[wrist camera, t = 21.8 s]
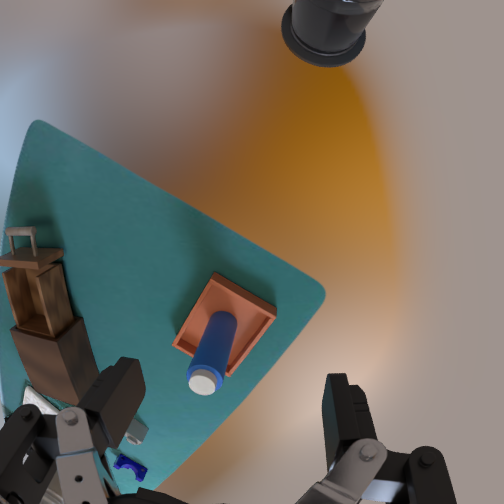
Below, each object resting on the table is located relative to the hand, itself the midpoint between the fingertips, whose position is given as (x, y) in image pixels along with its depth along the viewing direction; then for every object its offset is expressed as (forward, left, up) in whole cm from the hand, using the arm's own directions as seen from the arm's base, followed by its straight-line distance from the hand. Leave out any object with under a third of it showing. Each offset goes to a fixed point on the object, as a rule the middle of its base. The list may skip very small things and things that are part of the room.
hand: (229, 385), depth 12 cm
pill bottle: (+15, -6, -30) cm, 33 cm away
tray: (+15, -6, -30) cm, 34 cm away
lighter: (+42, -27, -30) cm, 58 cm away
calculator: (+52, -59, -30) cm, 84 cm away
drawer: (+8, -38, -29) cm, 49 cm away
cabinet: (+24, -38, -30) cm, 54 cm away
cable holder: (+62, -33, -30) cm, 76 cm away
